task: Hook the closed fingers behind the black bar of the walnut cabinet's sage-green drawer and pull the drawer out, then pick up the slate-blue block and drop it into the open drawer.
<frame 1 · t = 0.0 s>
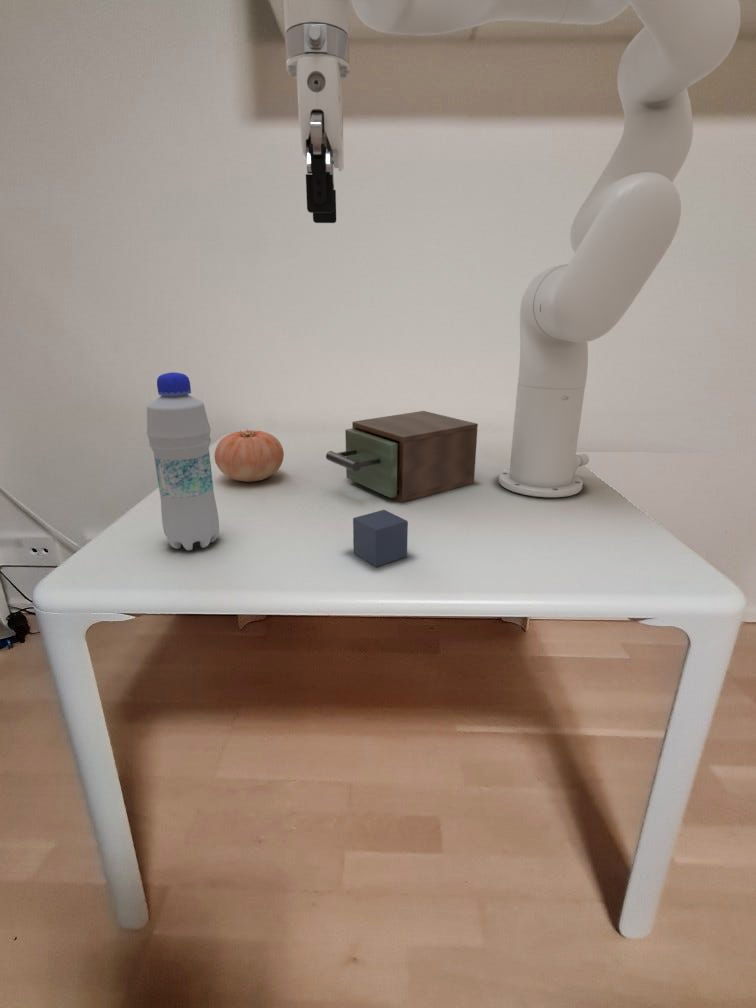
hand: (322, 217, 71), 37 cm above the table, tool pointing down, fingers open, 9 cm apart
bottle: (193, 544, 65), on the table
orange pumpkin: (251, 479, 88), on the table
cabinet: (413, 481, 87), on the table
block: (380, 555, 62), on the table
drawer: (390, 457, 82), point 5 cm above the table, slide at 0.5 cm
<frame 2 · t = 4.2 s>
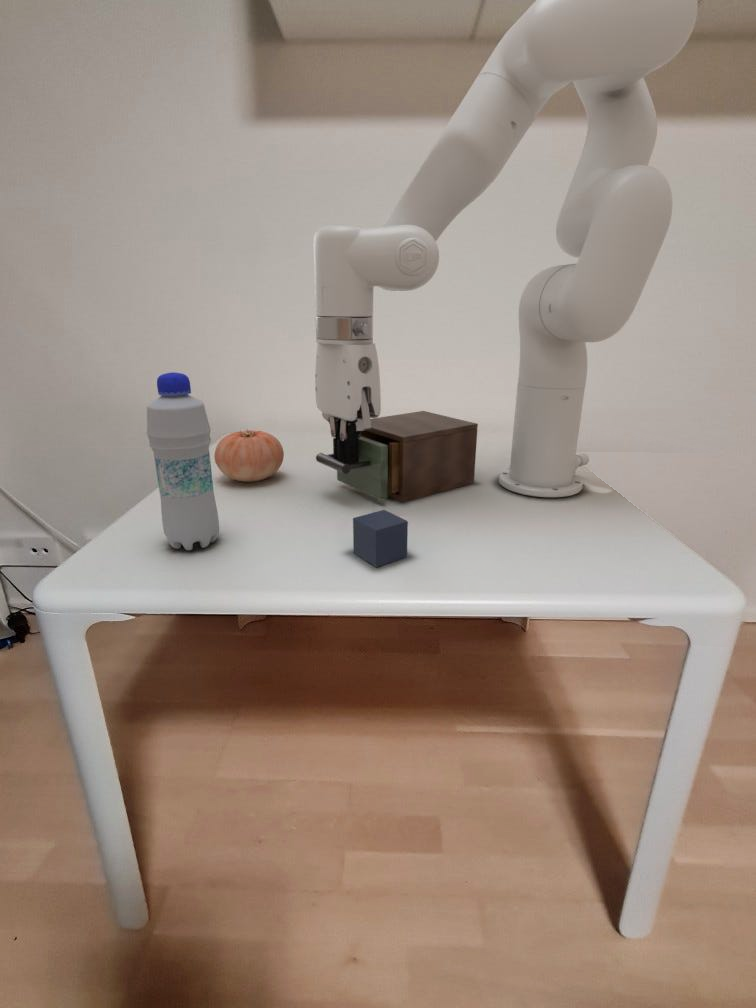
hand: (346, 464, 78), 5 cm above the table, tool pointing down, fingers closed
drawer: (381, 459, 81), point 5 cm above the table, slide at 2.2 cm, touching gripper
everything else where it was.
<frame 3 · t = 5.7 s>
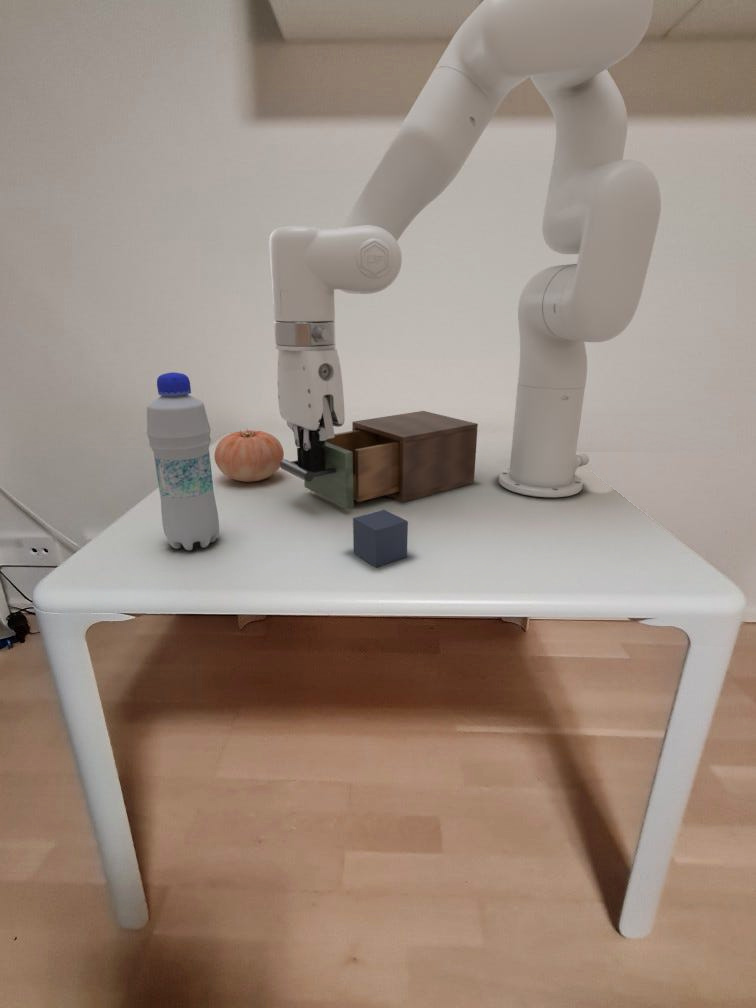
hand: (311, 475, 75), 5 cm above the table, tool pointing down, fingers closed
drawer: (348, 466, 78), point 5 cm above the table, slide at 8.0 cm, touching gripper
everything else where it was.
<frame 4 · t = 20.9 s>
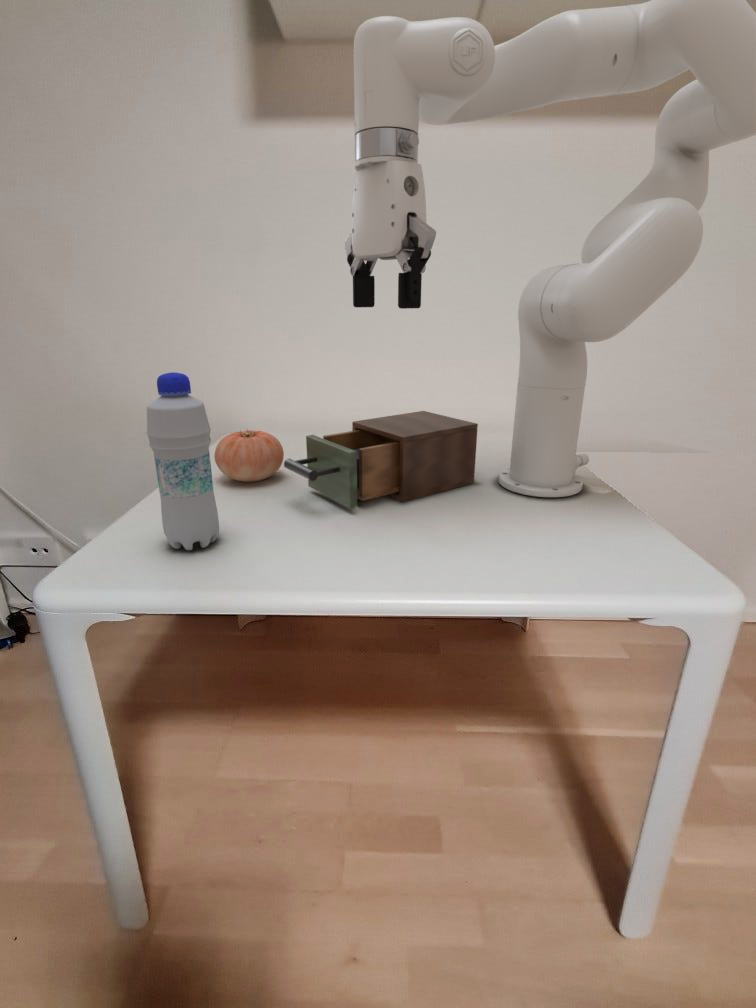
hand: (385, 307, 71), 26 cm above the table, tool pointing down, fingers open, 9 cm apart
block: (356, 483, 80), point 2 cm above the table, touching drawer
drawer: (352, 465, 79), point 5 cm above the table, slide at 7.4 cm, touching block
everything else where it was.
at the end: drawer slide at 7.4 cm; block inside the target area in the drawer (0.0 cm from its centre), point 2.0 cm above the cabinet's base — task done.
